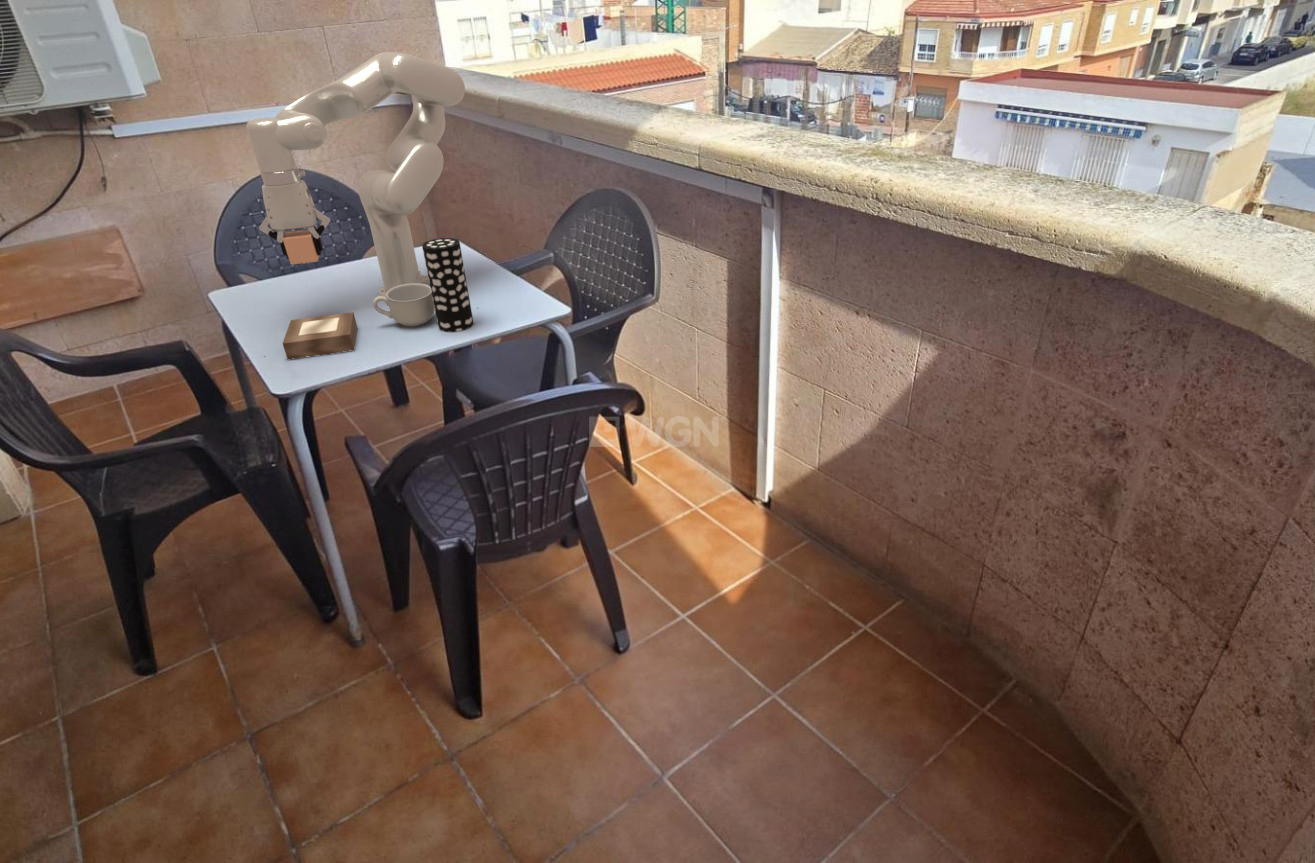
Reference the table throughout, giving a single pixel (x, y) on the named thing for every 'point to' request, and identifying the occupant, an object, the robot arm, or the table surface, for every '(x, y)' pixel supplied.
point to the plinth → (320, 335)
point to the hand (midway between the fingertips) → (304, 254)
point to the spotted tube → (448, 284)
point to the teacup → (408, 304)
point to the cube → (300, 247)
